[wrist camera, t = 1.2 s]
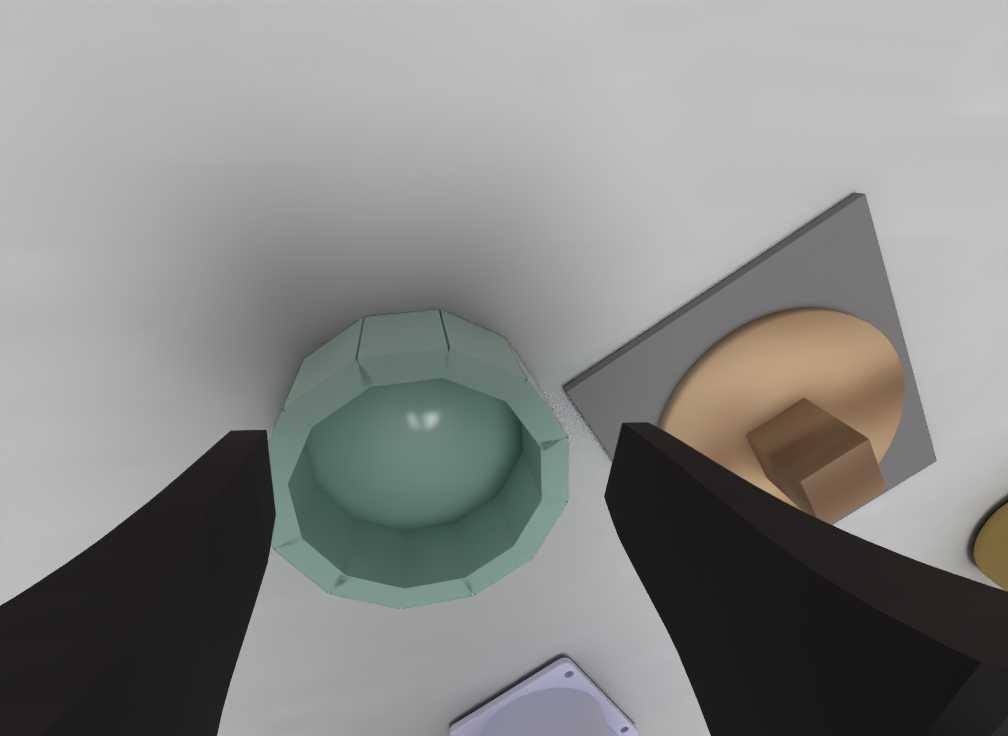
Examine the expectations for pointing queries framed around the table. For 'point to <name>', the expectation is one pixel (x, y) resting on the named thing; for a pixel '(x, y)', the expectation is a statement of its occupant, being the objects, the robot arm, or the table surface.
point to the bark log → (994, 548)
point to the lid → (795, 407)
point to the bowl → (415, 462)
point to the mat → (748, 296)
